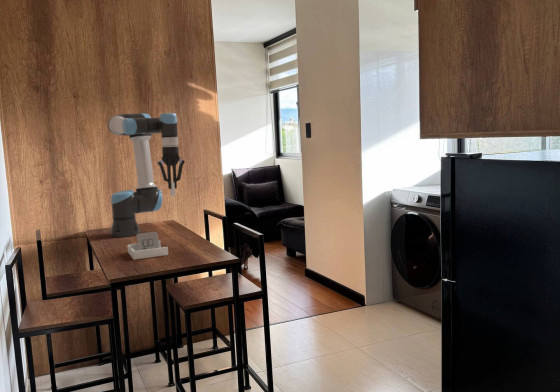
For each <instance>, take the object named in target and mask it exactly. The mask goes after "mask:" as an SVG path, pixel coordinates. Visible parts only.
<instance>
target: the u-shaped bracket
mask: <svg viewBox="0 0 560 392" xmlns="http://www.w3.org/2000/svg"><path fill="white" fill-rule="evenodd" d="M158 243H159V248H154V249H146V250H145V248H143V250H139V251H138V242H137V243H130V244H127V253H128V254H129V256H130V257H131V258H132V260H140V259H141V260H142V259H148V258H155V257H162V256H163V257H164V256H169V248H168V246H162V244H161V240H158Z"/></svg>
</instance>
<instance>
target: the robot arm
mask: <svg viewBox="0 0 560 392" xmlns="http://www.w3.org/2000/svg"><path fill="white" fill-rule="evenodd" d="M107 129H108V131H109V132H110V133H112V134H114V135H118V136H122V137H123V136H125V137H126V136H128V139H129V141H131V142H132V145H133V146H132V148H133V153H134V161H135V169H136V170H135V171H136V177H137V186H136V188H135V191H134V190H133V189H125V190H120V191H119V190H118V191H115V192H114V193H112V195H111V196H110V204H111V212H112V213H111V214H112V215H111V216H112V224H111V228H110V237H113V238H115V237H116V238H124V237H125V238H126V237H131V236H132V237H133V236H136V235H137V234H141V230H140V226H139V224H138V222H137V219H136V214H143V213H150V212H151V213H153V212H156V211H160V210H161V208H162V205H163V199H164V198H163V193H162V190H161V189H159V188H158V185H157V184H155V180H154V179H155V178H154V171H153V165H152V155H151V148H150V140H151V138H152V135H153V134H161V146H162V147H161V150H162V156H161V159H160V160H159V161H157V165H158V167H159V168H160V171H161V174H162V178H163V181H165V182H167V187H168V189H169V190H170V196H171V197H175V196H176V189H177V188H178V183H177V182H179V181H181V177H182V173H183V166H184V165H185V160H184V159H182V158H181V157H180V154H179V153H180V152H179V146H178V145H179V137H178V117H177V113H174V112H170V113H160V115H159V116H157V117H151V115H150V114H148V113H141V112H140V113H139V112H138V113H119V114H115V115H113V116H112V117H110V118H109V119H108V121H107ZM164 165H166V171H165V167H164ZM177 165H178V168H177ZM171 169H172V171H171ZM166 173H167V174H166Z"/></svg>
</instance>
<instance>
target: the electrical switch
mask: <svg viewBox="0 0 560 392" xmlns="http://www.w3.org/2000/svg"><path fill="white" fill-rule="evenodd" d="M135 236H136V241H137V243H138V251H139V250H143V248H145V250H146V249H154V248H159V243H158V241H159V236H158V232H157V231H152V232H151V231H150V232H143V233H142V232H140V233H139V234H137V235H135Z"/></svg>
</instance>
